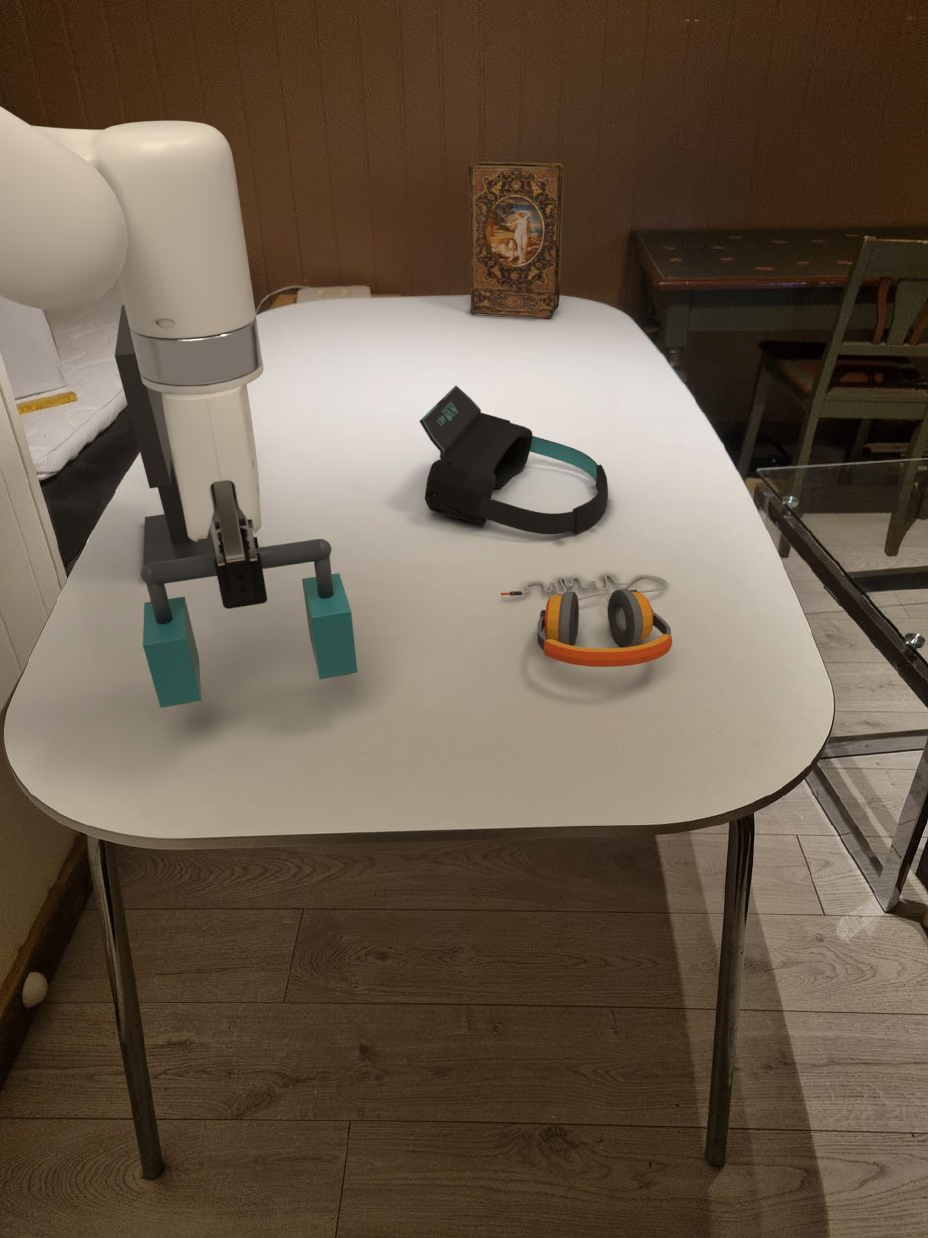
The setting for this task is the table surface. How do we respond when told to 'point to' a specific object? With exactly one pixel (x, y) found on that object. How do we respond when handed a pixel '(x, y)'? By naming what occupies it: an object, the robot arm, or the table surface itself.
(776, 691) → the table surface
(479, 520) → the virtual reality headset
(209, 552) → the monitor
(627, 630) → the headphones
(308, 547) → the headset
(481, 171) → the book
